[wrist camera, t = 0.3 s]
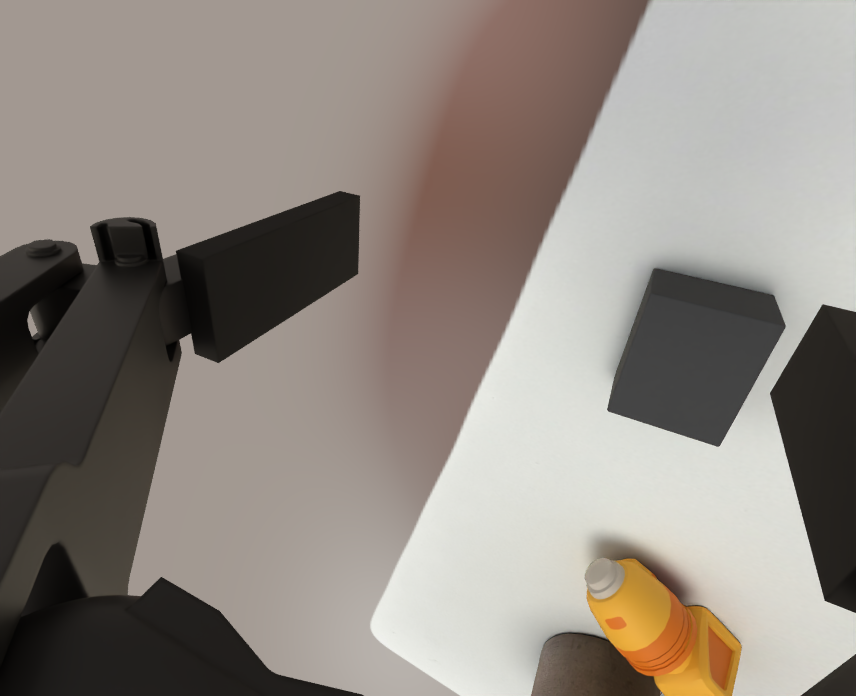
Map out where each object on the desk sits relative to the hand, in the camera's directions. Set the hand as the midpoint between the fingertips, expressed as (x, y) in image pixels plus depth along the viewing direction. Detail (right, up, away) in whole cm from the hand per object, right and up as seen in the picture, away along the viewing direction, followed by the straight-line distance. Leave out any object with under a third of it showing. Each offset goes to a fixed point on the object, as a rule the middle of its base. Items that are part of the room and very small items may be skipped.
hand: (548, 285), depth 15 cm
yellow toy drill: (+13, -20, +21) cm, 32 cm away
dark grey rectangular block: (+10, -1, +12) cm, 15 cm away
